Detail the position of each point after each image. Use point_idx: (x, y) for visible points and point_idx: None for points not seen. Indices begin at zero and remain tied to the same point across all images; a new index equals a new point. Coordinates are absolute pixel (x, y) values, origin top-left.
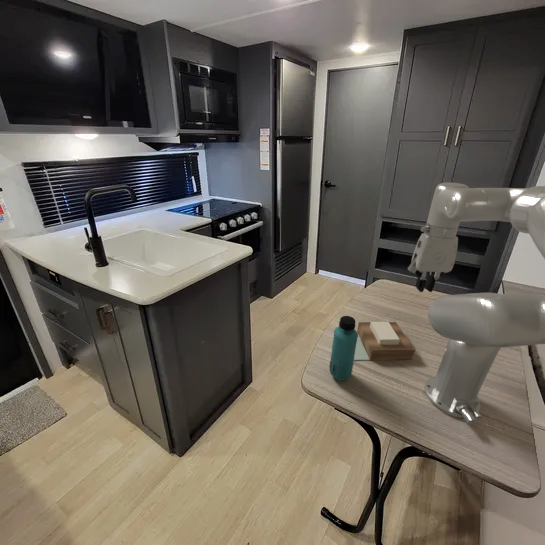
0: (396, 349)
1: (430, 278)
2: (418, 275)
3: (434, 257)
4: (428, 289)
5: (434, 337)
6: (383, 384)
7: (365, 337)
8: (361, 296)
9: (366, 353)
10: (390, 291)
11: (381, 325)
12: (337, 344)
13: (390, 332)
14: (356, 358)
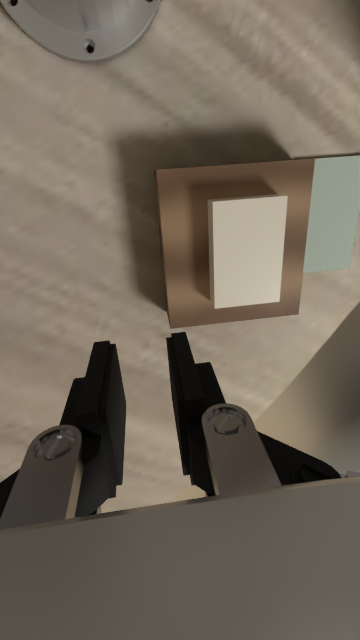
0: (225, 168)
1: (109, 452)
2: (284, 450)
3: None
4: (117, 362)
5: (37, 293)
6: (296, 30)
7: (304, 237)
8: None
9: None
10: None
11: (249, 283)
12: None
13: (231, 243)
14: (337, 163)
